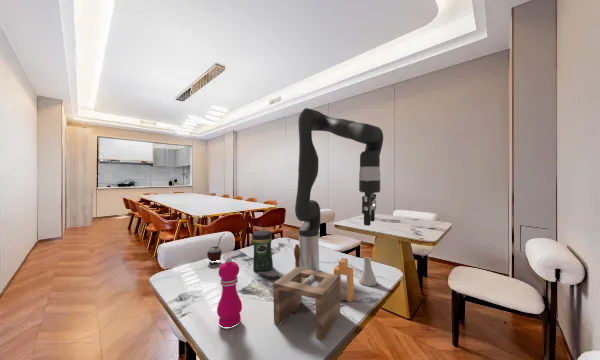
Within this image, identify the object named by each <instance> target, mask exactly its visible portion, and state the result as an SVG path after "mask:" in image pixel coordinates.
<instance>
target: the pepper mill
mask: <svg viewBox="0 0 600 360" xmlns="http://www.w3.org/2000/svg"><path fill="white" fill-rule="evenodd" d="M232 259H233V258H232V256H226V258H225V262H223V263H221V264H220V266H219V269H218V275H219V278H220V279H219V280H220V285H221V288H222V289H221V291H222V293H221V297H220V298H219V302H218V303H217V309H216V314H217V316H218V317H219V318H218V325H219V324H220V325H221V326H223V327H232V326H234V325H236V324H238V323H239V322H240V323H241V321H240V320H241V316H242V315H241V312H242V309H243V304H242V301H241V298H240V296H239V294H238V291H237V283H238V281H239V280H238V275H239V273H240V267H239V264H238V263H237V262H235V261H233V260H232ZM240 323H239V324H240Z"/></svg>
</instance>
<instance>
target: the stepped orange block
mask: <svg viewBox="0 0 600 360" xmlns="http://www.w3.org/2000/svg"><path fill="white" fill-rule="evenodd" d="M333 274H334V275H340V296H341V295H342V279H341V278H342V276H346V298H347V299H346V301H347V302H348V303H349V302H352V301H353V299H354V297H355V294H354V291H355V290H354V289H355V288H354V267H350V266H349V261H348V258H344V257H342V258H340V260H338V264H337V265H336V266H335V267H334V268H333Z"/></svg>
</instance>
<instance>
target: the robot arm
mask: <svg viewBox="0 0 600 360" xmlns="http://www.w3.org/2000/svg"><path fill="white" fill-rule="evenodd" d="M299 112H300V113H299V115H298V120H297V121H298V141H299V145H298V147H299V149H298V166H297V167H298V168H297V169H298V170H297V171H298V172H297V173H298V175H297V178H298V179H297V188H296V189H297V191H296V198H295V205H294V214H295V216H296V218H297V220H298V221H299V222H303V224H302V225H301V226H300V227H299V228H298V229H299V230H298V242H299V243H298V245H299V248H300V258H299V268H303V269H308V270H313V271H319V272H320V249H319V248H320V246H319V245H320V244H319V241H320V240H319V231H320V228H321V207H320V204H319V203H318V202H317V201H316V200H314V199H312V200H311V191H312V188H313V186H314V184H315V181H316V179H317V177H318V175H319V174H318V173H319V155H318V152H317V150H316V148H315V146H314V145H315V144H314V142H313V137H312V136H313V135H312V134H313V132H315V131H316V132H317V131H318V132H319V131H320V132H328V133H331V134H334V135H335V136H338V137H341V138H345V139H348V140H352V141H354V142H358V143H360V144H362V145H363V144H364V145H365V148H364V150H363V151H361V152H360V154H359V155H360V156H359V172H358V181H359V182H358V184H359V186H358V191H359V192H360V193H364V196H363V195H362V196H361V213H362V215H363V225H364V226H371V223H372V222H375V221H376V218H375V217H376V216H375V215H376V210H377V194H376V193H378V194H379V193H380V192H381V168H380V167H381V165H380V164H381V162H380V161H381V160H380V156H381V151H382V149H383V148H382V147H383V144H384V143H383V142H384V133H383V129H381V128H380V127H378V126H375V125H373V124H369V123H364V122H356V121H354V120H350V119H344V118H338V117H337V118H336V117H330V116H329V115H326V114H324V113H322V112H320V111H319V110H316V109H313V108H312V109H311V108H307V107H305V108H302V109H301V111H299Z"/></svg>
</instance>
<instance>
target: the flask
mask: <svg viewBox="0 0 600 360" xmlns="http://www.w3.org/2000/svg"><path fill="white" fill-rule="evenodd" d="M362 259H363V268H362V272H361V274H360V277H359V280H358V282H359V283H360V284H361V286H367V287H372V286H374V287H375V286H376V285H377V283H378V281H377V278H376V276H375V273H374V271H373V267H372V263H371V262H372V258H371V257H368V256H366V257H363V258H362Z"/></svg>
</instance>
